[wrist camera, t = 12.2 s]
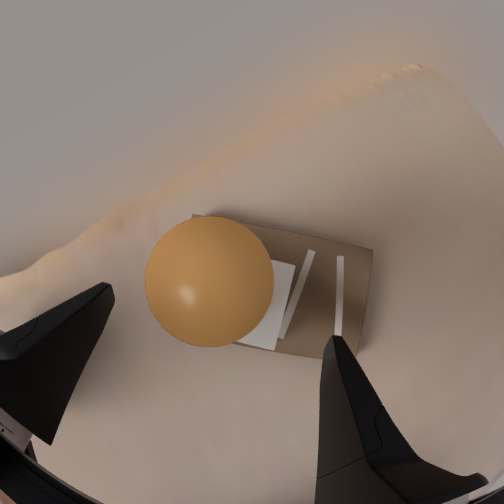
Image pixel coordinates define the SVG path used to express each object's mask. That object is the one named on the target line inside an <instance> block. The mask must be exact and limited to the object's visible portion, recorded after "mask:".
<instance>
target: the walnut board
mask: <svg viewBox="0 0 504 504" xmlns="http://www.w3.org/2000/svg"><path fill="white" fill-rule="evenodd" d="M198 217H205V216H201V215H196V214H193V215H192V218H191V219H193V218H198ZM238 223H240V222H238ZM240 224H241V225H243V226H245V227H246V228H248V229H249V230H250V231H251V232H253V233H254V234H255V235H256V236H257V237H258V238H259V240H260V241H261V242H262V244H263V245H264V247H265V248H266V250H267V252H268V254H269V257H270V259H271V260H275V261H279V262H283V263H288V264H292V265H295V270H294V274H293V278H292V283H291V287H290V291H289V295H288V299H287V303H286V307H285V311H284V315H283V319H282V323H281V327H280V331H279V335H278V338H277V342H276V346H275V350H274V351H273V350H269V349H265V348H260V347H256V346H252V345H248V344H244V343H240V342H236V341H235V342H233V343H232V344H237V345H242V346H247V347H252V348H257V349H262V350H268V351H273V352H279V353H285V354H291V355H298V356H304V357H311V358H319V359H323V352H324V348H325V346H326V344H327V342H328V340H329V339H330V337H331V336H332V335H339V336H342V337H343V338H344V340H345V342H346V343H347V345H348V346H349V348H350V350H351V351H352V353H353V355H354V356H355V358H356V355H357V351H358V346H359V341H360V336H361V331H362V326H363V320H364V315H365V309H366V302H367V296H368V289H369V282H370V274H371V265H372V256H373V250H372V249H367V248H363V247H358V246H354V245H349V244H344V243H340V242H335V241H330V240H326V239H321V238H316V237H311V236H306V235H302V234H297V233H292V232H287V231H282V230H277V229H272V228H266V227H261V226H256V225H251V224H245V223H240Z"/></svg>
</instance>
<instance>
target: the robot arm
mask: <svg viewBox="0 0 504 504" xmlns="http://www.w3.org/2000/svg"><path fill="white" fill-rule="evenodd" d="M114 303H115V297H114V293H113V289H112V286H111V284H108V283H105V282H101V283H99V284H97V285H95V286H93V287H92V288H90V289H88V290H86V291H84V292H82V293H80V294H78V295H76V296H74V297H72V298H71V299H69V300H67V301H65V302H63V303H61V304H59V305H58V306H56V307H54V308H52V309H50V310H48V311H47V312H45V313H43V314H41V315H39V317H36V318H34V319H32V320H30V321H28V322H27V323H25V324H23V325H21V326H19V327H17V328H14V329H12V330H10V331H8V332H6V333H4V334H1V335H0V489H1V490H2V491H3V492H4V493H5V494H6V495H8V496H9V497H10V498H11V499H12V500H13V501H14V502H15V503H17V504H103V503H101V502H99V501H97V500H95V499H94V498H92V497H90V496H88V495H86V494H84V493H83V492H81V491H79V490H77V489H76V488H74V487H72V486H71V485H69V484H67V483H66V482H64V481H63V480H61V479H60V478H58V477H57V476H55V475H54V474H52V473H51V472H49V471H48V470H46V469H45V468H44V467H42V466H41V465H40V464H38V463H37V460H36V456H35V453H34V450H33V446H32V442H31V440H30V439H31V437H32V435H33V434H34V435H35V436H37V437H38V438H40V439H41V440H43V441H44V442H45V443H47V444H48V445H50V446H51V444H52V442H53V440H54V437H55V434H56V432H57V429H58V426H59V424H60V421H61V419H62V416H63V414H64V412H65V409H66V407H67V404H68V402H69V400H70V397H71V395H72V393H73V391H74V388H75V386H76V384H77V382H78V380H79V378H80V375H81V373H82V371H83V369H84V367H85V365H86V363H87V361H88V359H89V357H90V355H91V353H92V351H93V349H94V347H95V345H96V343H97V341H98V339H99V338H100V336H101V334H102V332H103V329H104V327H105V324H106V322H107V320H108V317H109V315H110V312H111V310H112V308H113V305H114ZM488 483H489V482H488V480H487V479H486V478H485V477H484V476H483V475H481V474H480V473H475V474H472V475H469V476H459V475H456V474H453V473H451V472H449V471H446V470H444V469H442V468H439V467H437V466H435V465H433V464H430V463H428V462H426V461H424V460H423V459H421V458H420V457H419V456H418V455H417V454H416V453H415V452H414V451H413V449H412V448H411V447H410V445H409V444H408V442H407V441H406V440H405V438H404V437H403V435H402V434H401V433H400V431H399V430H398V428H397V427H396V425H395V424H394V422H393V421H392V419H391V418H390V416H389V414H388V413H387V411H386V409H385V407H384V406H383V405H382V402H381V401H380V399H379V397H378V395H377V394H376V392H375V390H374V388H373V387H372V385H371V383H370V382H369V380H368V378H367V377H366V375H365V373H364V371H363V370H362V368H361V366H360V365H359V363H358V361H357V360H356V358H355V356H354V355H353V353H352V351H351V350H350V348H349V346H348V345H347V343H346V342H345V340H344V338H343V337H342V336H339V335H332V336H331V337H330V339H329V340H328V342H327V344H326V346H325V348H324V352H323V362H322V371H321V380H320V410H319V446H318V466H317V480H316V492H315V503H314V504H504V486H503V487H501V488H499V489H496V490H494V491H492V492H490V493H488V494H485V495H483V496H480V497H478V498H476V499H473V500H470V501H469V494H468V493H470V492H472V491H474V490H476V489H479V488H481V487H483V486H485V485H487V484H488Z"/></svg>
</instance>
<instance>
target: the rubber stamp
mask: <svg viewBox="0 0 504 504" xmlns="http://www.w3.org/2000/svg"><path fill="white" fill-rule="evenodd" d="M294 270H295V265H292V264H288V263H283V262H279V261H275V260H271V259H270V257H269V254H268V252H267V250H266V248H265V247H264V245H263V244H262V242H261V241H260V240H259V238H258V237H257V236H256V235H255V234H254V233H253V232H251V231H250V230H249V229H248V228H246V227H245V226H243V225H241V224H240V223H238V222H235V221H233V220H230V219H227V218H223V217H217V216H205V217H198V218H193V219H190V220H187V221H185V222H183V223H181V224H179V225H177V226H175V227H174V228H172V229H171V230H170V231H169V232H167V233H166V234H165V235H164V236H163V237H162V238H161V240H160V241H159V242H158V243H157V245H156V246H155V248H154V250H153V252H152V254H151V256H150V258H149V261H148V264H147V269H146V275H145V290H146V296H147V300H148V303H149V306H150V308H151V311H152V313H153V314H154V316H155V318H156V319H157V321H158V322H159V323H160V324H161V326H162V327H163V328H164V329H165V330H166V331H167V332H169V333H170V334H171V335H173V336H174V337H176V338H177V339H179V340H181V341H183V342H186V343H188V344H191V345H195V346H201V347H218V346H224V345H227V344H230V343H233V342H235V341H236V342H240V343H244V344H248V345H252V346H256V347H260V348H265V349H269V350H273V351H274V350H275V346H276V342H277V338H278V335H279V331H280V327H281V323H282V319H283V315H284V311H285V307H286V303H287V299H288V295H289V291H290V287H291V283H292V278H293V274H294Z"/></svg>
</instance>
